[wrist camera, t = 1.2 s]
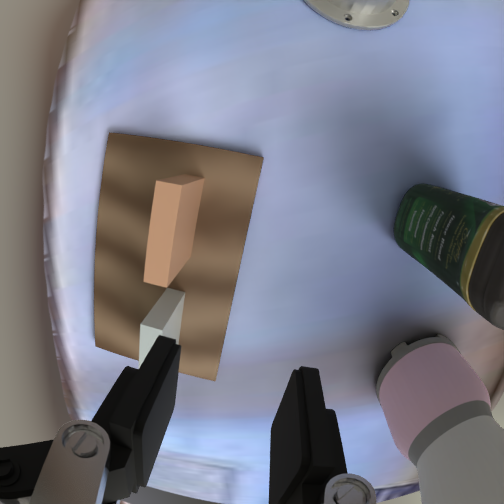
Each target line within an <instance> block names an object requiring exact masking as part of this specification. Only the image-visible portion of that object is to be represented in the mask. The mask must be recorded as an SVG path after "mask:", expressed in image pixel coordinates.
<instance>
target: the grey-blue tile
mask: <svg viewBox="0 0 504 504" xmlns="http://www.w3.org/2000/svg"><path fill="white" fill-rule="evenodd" d="M184 298H185V292H182V291H178V290H174V289H170V288H167V289H166V290H165V292H164V293H163V294H162V296H161V297H160V298H159V300H158V301H157V302H156V304H155V305H154V306H153V308H152V309H151V310H150V312H149V313H148V315H147V316H146V317H145V319H144V320H143V321H142V323H141V324H140V344H139V368H140V366H141V364H142V363H143V361H144V359H145V357H146V356H147V354H148V352H149V351H150V349H151V347H152V346H153V344H154V342H155V340H156V339H157V337H158V336H159V335H162V336H166V337H169V338H173V339H176V344H179V336H180V328H181V320H182V313H183V305H184Z"/></svg>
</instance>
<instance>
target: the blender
mask: <svg viewBox="0 0 504 504" xmlns="http://www.w3.org/2000/svg"><path fill="white" fill-rule="evenodd" d="M391 355H392V358H391V359H390V360H389V362H388V363H387V364H386V365H385V367H384V368H383V370H382V371H381V373H380V375H379V378H378V381H377V386H376V393H377V397H378V400H379V402H380V405H381V406H382V409H383V412H384V415H385V418H386V420H387V423H388V426H389V429H390V432H391V434H392V437H393V440H394V442H395V445H396V446H397V448H398V450H399V451H400V452H401V453H402V455H403V456H404V457H406V458H407V459H408V460H410V461H411V462H412V463H413V464H414V465H415V466H416V468H417V471H418V477H419V486H420V492H421V500H422V504H504V429H503V428H502V427H500V425H499V424H498V423H497V422H496V421H495V420H494V418H493V417H492V413H491V404H490V398H489V394H488V391H487V389H486V387H485V385H484V383H483V382H482V380H481V379H480V378H479V376H478V375H477V374H476V372H475V371H474V370H473V369H472V367H471V366H470V365H469V364H468V362H467V361H466V360H465V359H464V358H463V356H462V355H461V353H460V351H459V350H458V349H457V347H456V346H455V345H454V344H453V343H452V342H451V341H450V340H449V339H447V338H446V337H445V336H443V335H440V334H437V336H436V337H430V338H425V339H421V340H418V341H416V342H414V343H412V344H410V345H407V344H406V343H405V342H403V343H401V344H399V345H398V346H397V347H395V348H394V349H393V350H392V351H391Z"/></svg>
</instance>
